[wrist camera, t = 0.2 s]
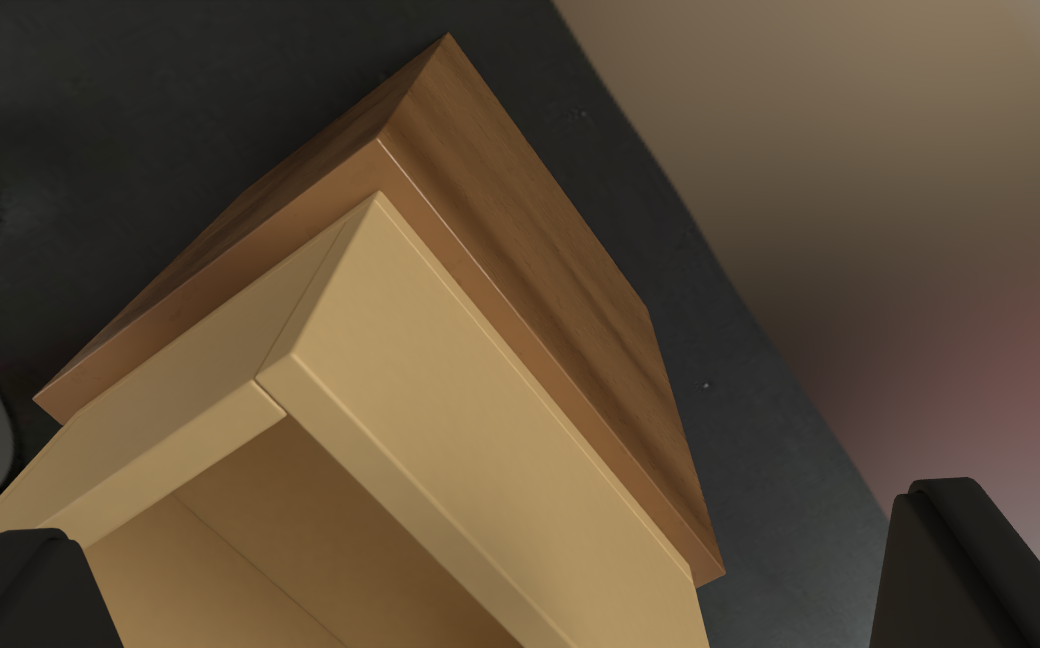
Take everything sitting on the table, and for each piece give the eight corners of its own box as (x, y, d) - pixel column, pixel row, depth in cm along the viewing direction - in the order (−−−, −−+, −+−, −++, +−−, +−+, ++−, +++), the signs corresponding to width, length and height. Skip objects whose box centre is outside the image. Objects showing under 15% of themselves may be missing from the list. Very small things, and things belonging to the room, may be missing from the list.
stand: (448, 31, 34) (376, 136, 18) (647, 308, 40) (726, 574, 24) (244, 190, 37) (30, 399, 21) (456, 425, 43) (412, 727, 27)
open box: (380, 187, 19) (291, 352, 12) (690, 564, 24) (756, 835, 17) (76, 411, 21) (-141, 649, 14) (411, 704, 27) (369, 984, 20)
